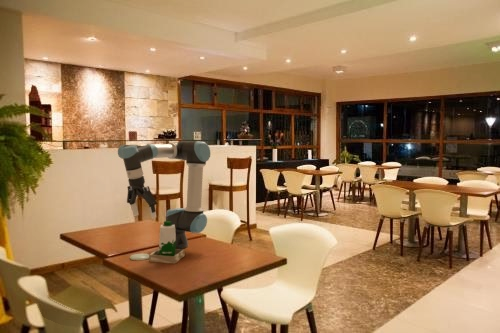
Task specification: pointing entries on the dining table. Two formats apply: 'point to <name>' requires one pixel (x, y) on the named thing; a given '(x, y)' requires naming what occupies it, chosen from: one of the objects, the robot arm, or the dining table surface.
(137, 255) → the pale green disc
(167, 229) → the soya milk
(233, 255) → the dining table surface
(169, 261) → the dock
